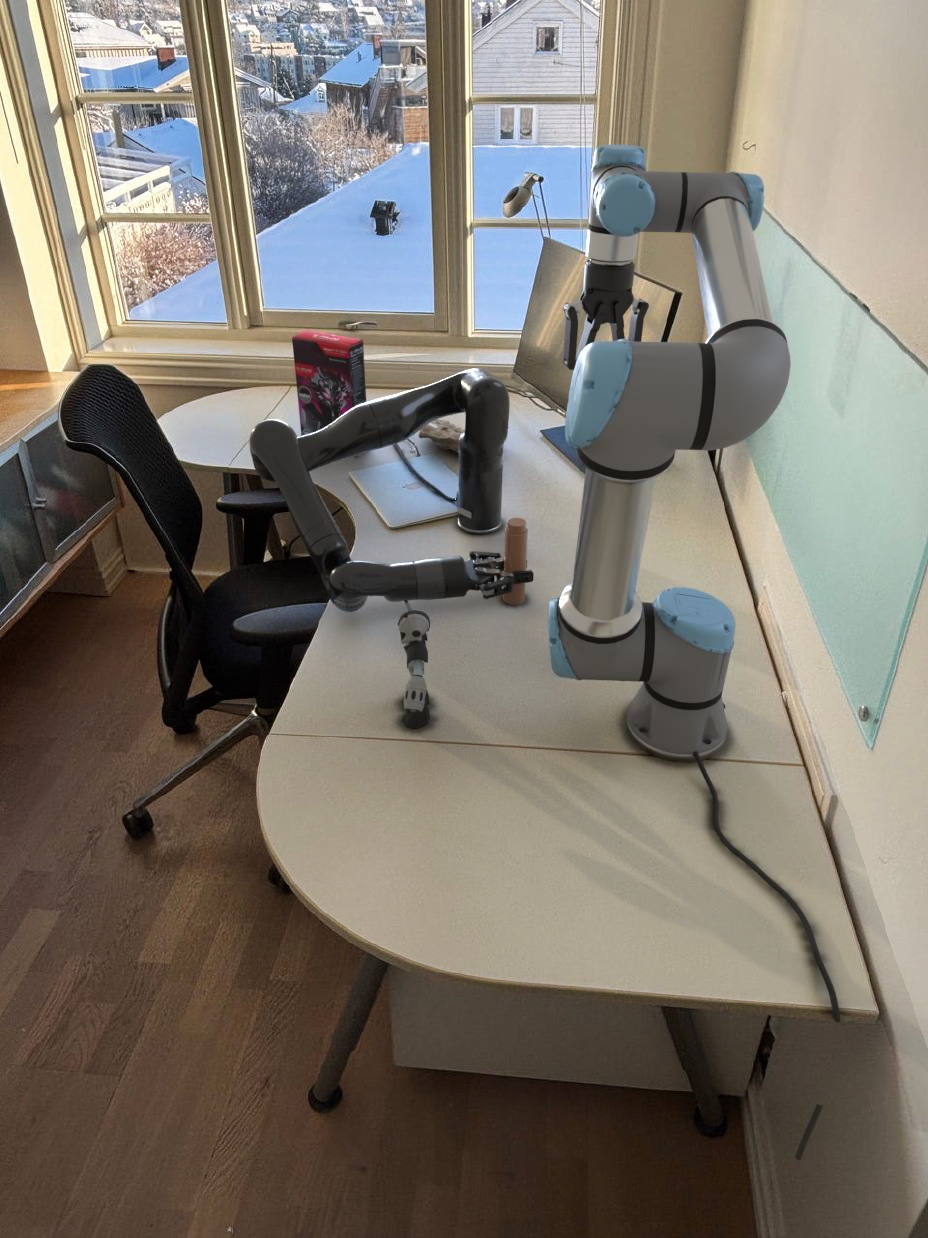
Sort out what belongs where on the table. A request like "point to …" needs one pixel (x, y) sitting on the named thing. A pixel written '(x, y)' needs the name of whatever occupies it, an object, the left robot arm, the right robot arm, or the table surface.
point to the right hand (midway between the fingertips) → (596, 408)
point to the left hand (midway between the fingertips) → (529, 569)
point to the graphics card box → (327, 377)
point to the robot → (415, 666)
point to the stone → (442, 434)
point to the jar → (515, 557)
